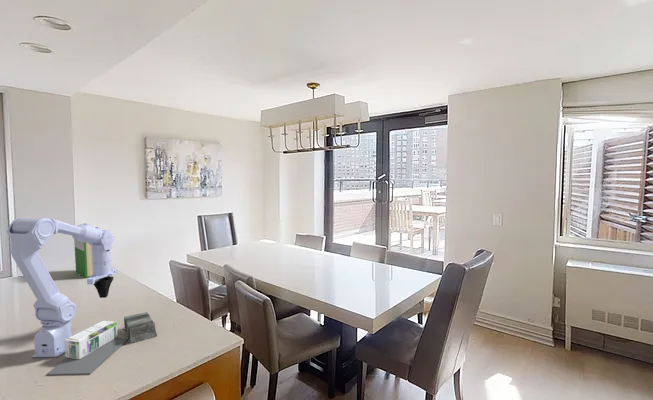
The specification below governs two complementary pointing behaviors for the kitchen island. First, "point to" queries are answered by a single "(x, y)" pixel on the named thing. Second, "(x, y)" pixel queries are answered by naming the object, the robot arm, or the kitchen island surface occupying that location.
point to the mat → (88, 360)
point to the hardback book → (83, 258)
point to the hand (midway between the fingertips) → (103, 297)
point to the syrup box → (90, 339)
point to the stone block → (139, 327)
